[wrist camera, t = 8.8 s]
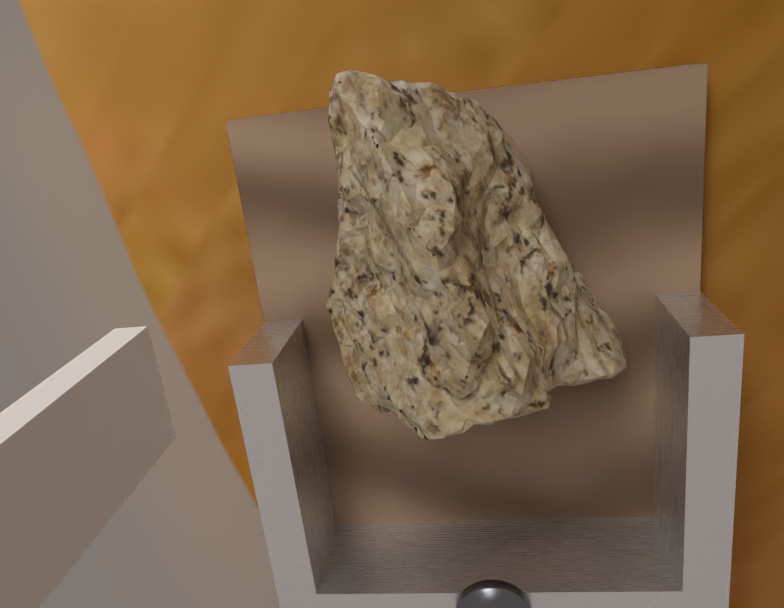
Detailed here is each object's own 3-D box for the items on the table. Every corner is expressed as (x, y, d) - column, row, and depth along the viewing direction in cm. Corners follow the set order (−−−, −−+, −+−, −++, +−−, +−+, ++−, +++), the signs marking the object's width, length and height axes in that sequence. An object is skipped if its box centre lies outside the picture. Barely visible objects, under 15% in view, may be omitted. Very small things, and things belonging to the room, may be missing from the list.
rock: (290, 443, 25) (521, 495, 19) (210, 107, 22) (447, 30, 16) (452, 346, 33) (655, 359, 26) (408, 89, 30) (622, 32, 24)
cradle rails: (264, 322, 30) (222, 372, 25) (700, 290, 28) (751, 340, 22) (310, 564, 35) (283, 649, 30) (691, 559, 32) (731, 651, 27)
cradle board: (235, 118, 29) (225, 120, 28) (697, 63, 26) (707, 63, 25) (314, 538, 36) (308, 553, 35) (684, 531, 33) (691, 547, 32)
